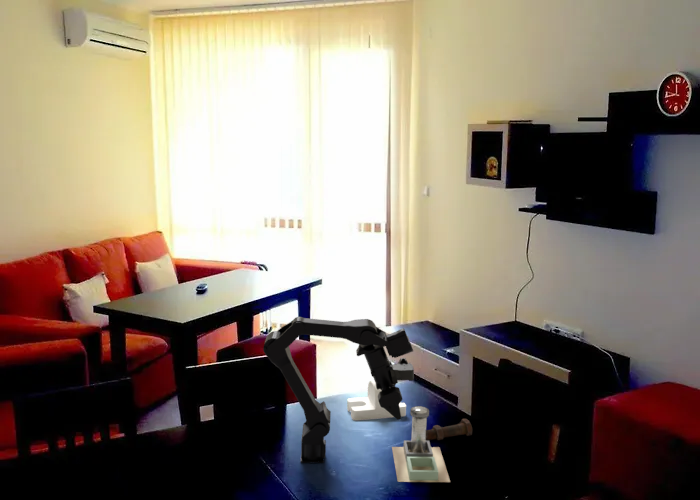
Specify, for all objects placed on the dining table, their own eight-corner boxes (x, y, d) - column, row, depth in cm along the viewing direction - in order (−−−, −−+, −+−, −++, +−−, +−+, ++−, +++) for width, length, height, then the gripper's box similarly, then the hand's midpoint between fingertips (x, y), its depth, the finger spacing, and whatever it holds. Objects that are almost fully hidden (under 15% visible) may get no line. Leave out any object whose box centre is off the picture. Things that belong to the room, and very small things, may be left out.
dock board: (397, 485, 167) (397, 481, 167) (391, 449, 185) (391, 446, 184) (450, 485, 167) (450, 482, 167) (439, 450, 185) (439, 447, 185)
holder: (406, 461, 176) (406, 453, 176) (403, 448, 184) (403, 440, 183) (432, 462, 177) (432, 454, 176) (428, 448, 184) (429, 440, 183)
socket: (409, 480, 167) (409, 471, 167) (406, 464, 175) (406, 456, 174) (437, 480, 168) (438, 471, 167) (433, 465, 175) (434, 456, 175)
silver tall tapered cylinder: (409, 459, 177) (411, 413, 175) (407, 450, 183) (409, 405, 180) (428, 460, 178) (430, 414, 175) (425, 450, 183) (427, 405, 180)
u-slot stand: (346, 408, 211) (347, 378, 209) (397, 403, 215) (399, 374, 213) (353, 421, 202) (353, 390, 200) (406, 416, 206) (408, 385, 204)
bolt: (422, 446, 191) (466, 437, 196) (429, 446, 186) (474, 437, 191) (418, 426, 192) (462, 418, 197) (425, 425, 188) (469, 417, 193)
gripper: (410, 366, 165) (429, 417, 168) (402, 341, 183) (420, 388, 186) (370, 380, 165) (390, 431, 168) (366, 354, 183) (385, 401, 187)
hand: (398, 411), depth 177 cm, fingers open, 9 cm apart
